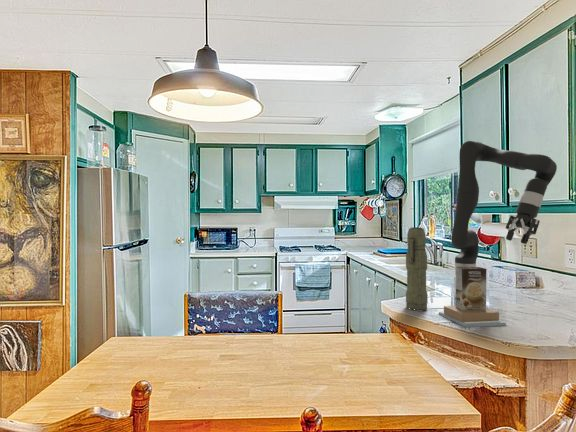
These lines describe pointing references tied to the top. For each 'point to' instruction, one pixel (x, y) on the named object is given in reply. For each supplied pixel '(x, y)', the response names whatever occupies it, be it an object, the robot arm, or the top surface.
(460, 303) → the coffee box
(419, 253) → the thermos
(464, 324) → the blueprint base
